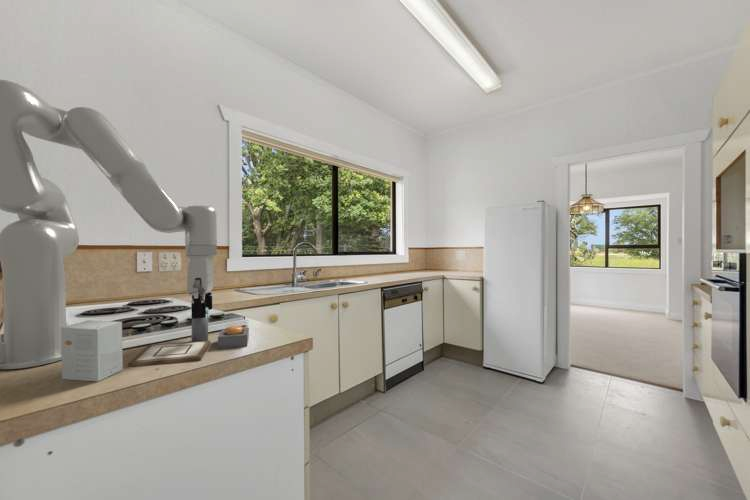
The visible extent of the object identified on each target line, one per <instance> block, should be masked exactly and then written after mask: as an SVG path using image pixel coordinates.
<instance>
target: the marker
mask: <svg viewBox="0 0 750 500" xmlns="http://www.w3.org/2000/svg"><path fill="white" fill-rule="evenodd" d="M199 341H209V310H208V307H206V317H205V318H196V319H193V318H192V317H191V342H199Z"/></svg>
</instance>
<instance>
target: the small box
mask: <svg viewBox="0 0 750 500" xmlns="http://www.w3.org/2000/svg"><path fill="white" fill-rule="evenodd" d="M123 358H124V357H123V322H122V321H111V320H110V321H108V320H107V321H106V320H85V321H81V322H76V323H73V324H68V325H66V326H64V327H61V360H60V361H61V379H62V380H68V381H69V380H70V381H82V382H96V383H97V382H100V381H103V380H104V379H106V378H108V377H110V376H113V375H115V374H117V373H119V372H121V371H123V369H124V368H123V367H124V365H123Z"/></svg>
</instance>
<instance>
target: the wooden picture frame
mask: <svg viewBox="0 0 750 500" xmlns="http://www.w3.org/2000/svg"><path fill="white" fill-rule="evenodd" d="M210 345H211V340H208V341H199V342H192V341H187V342H186V341H185V342H173V343H159V344H157V343H156V344H148V345H147V346H146V347H145V348H143V350H141V351H140V352H139V353H138V354H137V355H136V356H135V357H134V358H132V359H131V360H130V361H129V362H128V367H139V366H150V365H161V364H163V365H164V364H172V363H173V364H174V363H175V364H176V363H183V362H184V363H185V362H195V361H196V362H197V361H202V359H203V357H204V355H205V353H206V352H207V350H208V349H209V346H210Z"/></svg>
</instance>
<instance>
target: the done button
mask: <svg viewBox="0 0 750 500" xmlns="http://www.w3.org/2000/svg"><path fill="white" fill-rule="evenodd" d="M242 328H243V326H241V325H231V326H227V327H226V328H225V329H226V335H236V334H242Z"/></svg>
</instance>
